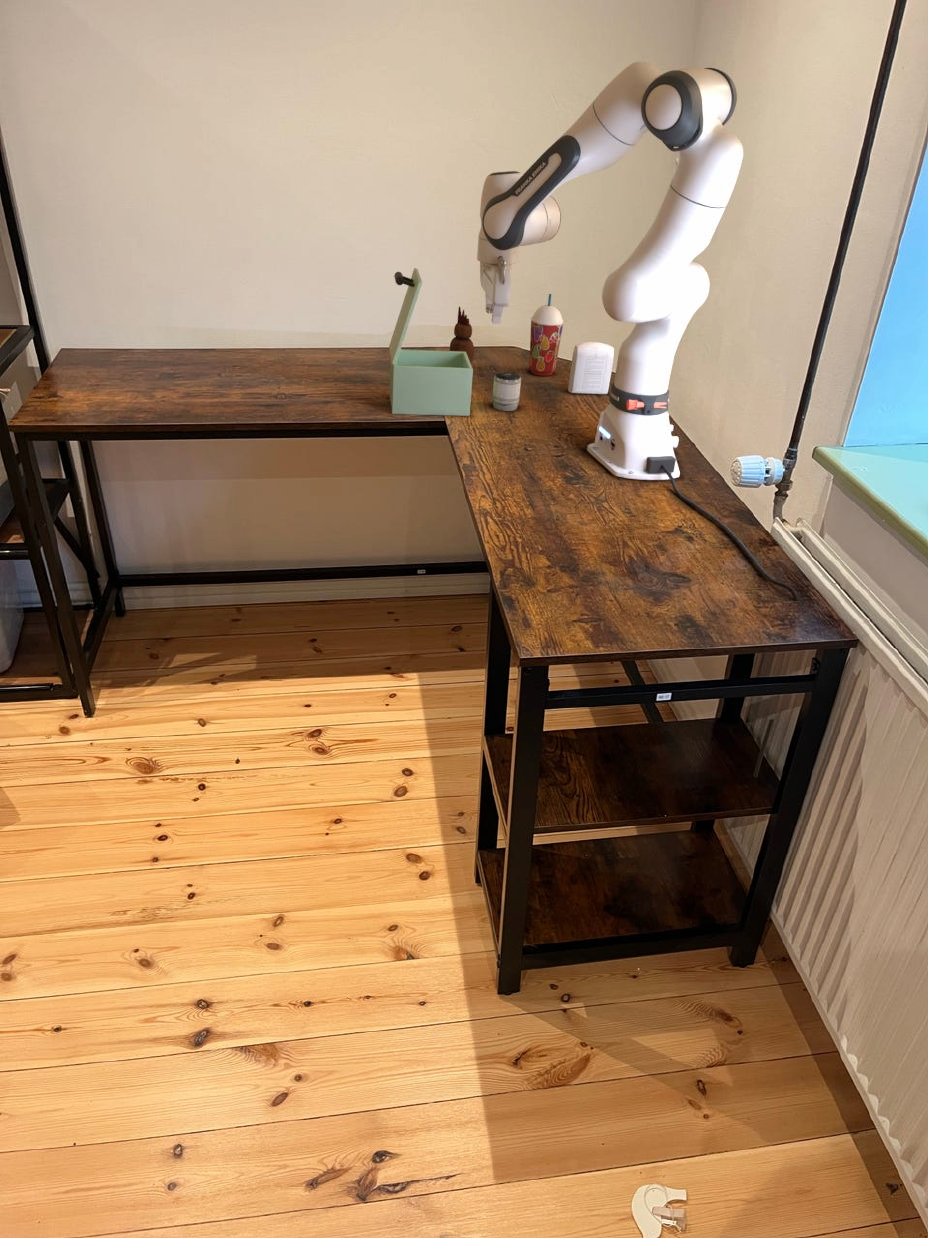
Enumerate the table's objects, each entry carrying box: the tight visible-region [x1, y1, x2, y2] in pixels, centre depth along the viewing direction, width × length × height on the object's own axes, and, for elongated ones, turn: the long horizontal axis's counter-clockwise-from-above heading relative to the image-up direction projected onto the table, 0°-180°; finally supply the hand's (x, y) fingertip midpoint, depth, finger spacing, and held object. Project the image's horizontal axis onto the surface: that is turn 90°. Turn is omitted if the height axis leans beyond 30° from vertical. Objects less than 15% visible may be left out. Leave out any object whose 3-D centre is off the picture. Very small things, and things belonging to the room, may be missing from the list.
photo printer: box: [567, 341, 615, 395], centre depth 237 cm, size 10×4×12 cm, turn 98°
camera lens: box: [491, 371, 522, 412], centre depth 224 cm, size 6×6×8 cm
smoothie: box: [528, 293, 565, 377], centre depth 246 cm, size 8×8×20 cm
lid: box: [388, 267, 423, 365], centre depth 211 cm, size 18×14×5 cm
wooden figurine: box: [449, 306, 475, 364], centre depth 247 cm, size 7×6×15 cm
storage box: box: [388, 348, 474, 417], centre depth 220 cm, size 18×14×11 cm
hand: (492, 317), depth 214 cm, fingers open, 8 cm apart
